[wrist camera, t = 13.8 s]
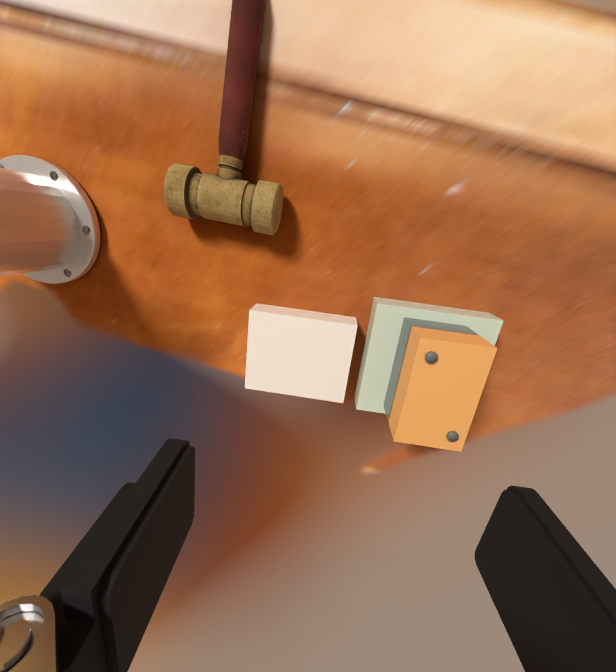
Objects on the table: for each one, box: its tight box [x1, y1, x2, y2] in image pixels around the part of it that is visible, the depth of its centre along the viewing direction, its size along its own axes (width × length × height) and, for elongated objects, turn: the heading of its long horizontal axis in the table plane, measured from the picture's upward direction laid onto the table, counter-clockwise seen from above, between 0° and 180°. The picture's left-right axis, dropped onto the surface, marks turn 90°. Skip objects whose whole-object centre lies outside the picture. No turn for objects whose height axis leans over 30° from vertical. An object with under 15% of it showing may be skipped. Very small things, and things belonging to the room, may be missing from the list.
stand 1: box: [245, 304, 358, 403], centre depth 34 cm, size 11×9×3 cm
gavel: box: [164, 0, 283, 236], centre depth 27 cm, size 21×5×10 cm
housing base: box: [383, 317, 479, 422], centre depth 30 cm, size 10×6×3 cm, turn 173°
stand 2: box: [355, 297, 503, 414], centre depth 33 cm, size 12×12×3 cm
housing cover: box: [389, 326, 497, 452], centre depth 27 cm, size 10×6×3 cm, turn 173°
